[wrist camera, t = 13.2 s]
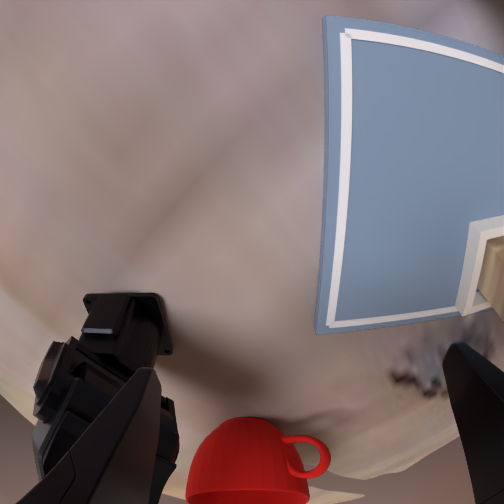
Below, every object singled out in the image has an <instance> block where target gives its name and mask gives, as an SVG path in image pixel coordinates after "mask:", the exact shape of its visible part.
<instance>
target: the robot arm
mask: <svg viewBox="0 0 504 504" xmlns="http://www.w3.org/2000/svg"><path fill="white" fill-rule="evenodd" d="M150 299H152V300H154V301H151V300H150ZM89 300H90V301H89ZM83 302H84V305H85V307H86V309H87V312H88V314H89V315H88V317H87V319H86V321H85V323H84V325H83V327H82V329H81V331H82V334H81V336H80V339H79V341H78V340H77V339H75V338H74V337H73V336H71V337H70V339H69V340H68V341H67V342H66V343H64V342H62V343H61V342H55V341H53V343H52V344H51V345H50V347H49V349H48V351H47V353H46V355H45V357H44V359H43V361H42V363H41V366H40V368H39V371H38V374H37V377H36V380H35V383H34V386H33V388H34V392H35V395H36V398H35V405H34V411H33V415H34V416H35V417H36V418H38V422H37V424H36V426H35V429H34V431H33V433H32V445H33V451H34V458H35V463H36V469H37V474H38V479H39V483H38V484H37V485H36V486H35V487H34V488H32V489H31V490H30V491H29V492H28V493H27V494H26V495H25V496H24V497H23V498H22V499H20V500H19V501H18V502H17V503H16V504H158V503H159V499H160V496H161V493H162V490H163V488H164V486H165V484H166V482H167V480H168V478H169V477H170V475H171V474H172V473H173V471H174V470H175V469H176V464H175V461H176V459H177V456H178V453H179V446H180V445H179V434H178V429H177V423H176V416H175V408H174V401H173V400H171V399H169V398H167V397H166V398H165V397H163V396H161V392H162V390H161V384H160V381H159V379H158V377H157V374H156V372H155V370H154V369H153V368H154V364H155V360H156V356H157V355H171V354H172V353H173V345H172V342H171V339H170V336H169V332H168V329H167V326H166V322H165V319H164V315H163V312H162V308H161V305H160V301H159V298H158V296H157V295H156V294H154V293H130V294H127V293H121V294H86V295H85V297H84V298H83ZM442 366H443V371H444V375H445V380H446V384H447V388H448V393H449V398H450V402H451V407H452V410H453V414H454V417H455V420H456V424H457V427H458V431H459V434H460V438H461V441H462V445H463V449H464V453H465V456H466V461H467V465H468V469H469V474H470V478H471V482H472V488H473V493H474V498H475V503H476V504H504V372H503V371H501V370H500V369H499V368H498V367H496V366H495V365H494V364H492V363H491V362H490V361H488V360H487V359H486V358H484V357H483V356H482V355H480V354H479V353H478V352H476V351H475V350H474V349H472V348H471V347H470V346H468V345H467V344H466V343H464V342H456V343H452V344H451V345H450V347H449V349H448V351H447V353H446V355H445V357H444V359H443V363H442Z"/></svg>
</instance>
